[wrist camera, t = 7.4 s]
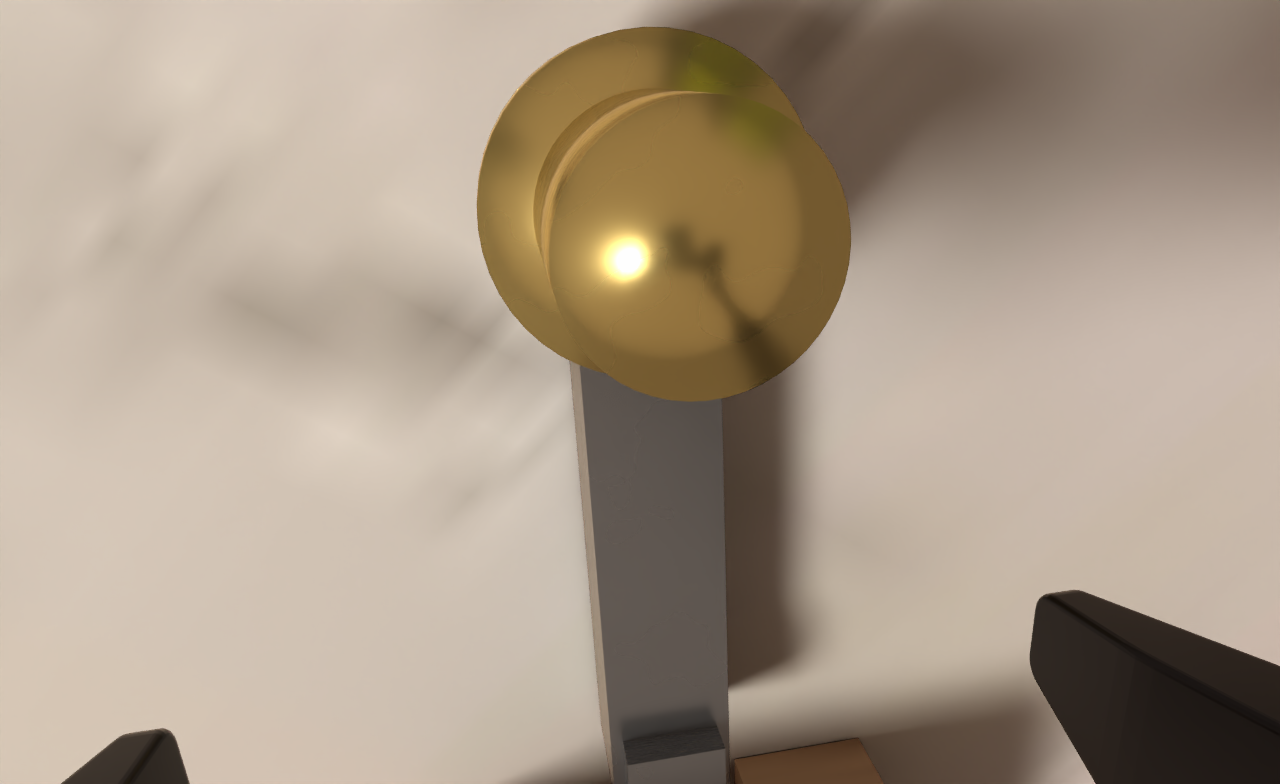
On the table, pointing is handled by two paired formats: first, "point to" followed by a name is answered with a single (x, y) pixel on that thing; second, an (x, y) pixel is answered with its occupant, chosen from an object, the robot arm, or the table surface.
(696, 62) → the grey sliding bolt
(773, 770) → the block
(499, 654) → the table surface
